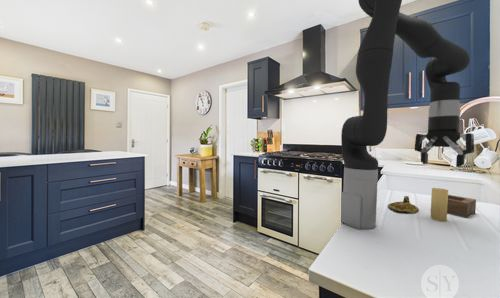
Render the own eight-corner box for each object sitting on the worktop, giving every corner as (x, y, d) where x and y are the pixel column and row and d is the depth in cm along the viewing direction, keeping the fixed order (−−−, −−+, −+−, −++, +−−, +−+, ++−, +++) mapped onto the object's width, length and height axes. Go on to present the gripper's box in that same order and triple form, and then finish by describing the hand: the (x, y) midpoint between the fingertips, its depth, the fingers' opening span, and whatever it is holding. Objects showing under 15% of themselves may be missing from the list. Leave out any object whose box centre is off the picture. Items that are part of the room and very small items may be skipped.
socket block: (466, 217, 71) (467, 203, 71) (431, 209, 79) (431, 196, 79) (475, 213, 76) (476, 199, 76) (441, 205, 84) (441, 193, 84)
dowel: (443, 222, 67) (445, 191, 66) (428, 218, 70) (429, 188, 70) (448, 220, 69) (450, 189, 68) (433, 216, 72) (434, 187, 72)
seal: (414, 220, 71) (420, 210, 82) (417, 207, 71) (422, 198, 81) (383, 210, 78) (392, 202, 88) (385, 198, 77) (394, 191, 88)
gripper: (412, 117, 72) (410, 163, 73) (471, 112, 60) (467, 168, 61) (421, 118, 76) (420, 162, 77) (478, 114, 64) (475, 167, 65)
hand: (441, 165), depth 69 cm, fingers open, 8 cm apart
